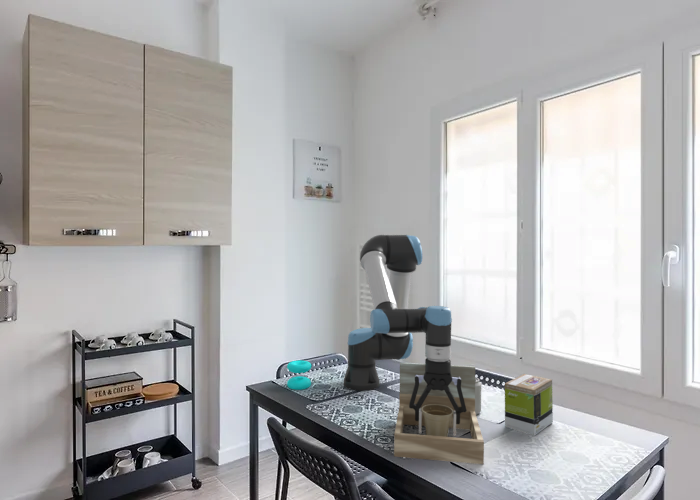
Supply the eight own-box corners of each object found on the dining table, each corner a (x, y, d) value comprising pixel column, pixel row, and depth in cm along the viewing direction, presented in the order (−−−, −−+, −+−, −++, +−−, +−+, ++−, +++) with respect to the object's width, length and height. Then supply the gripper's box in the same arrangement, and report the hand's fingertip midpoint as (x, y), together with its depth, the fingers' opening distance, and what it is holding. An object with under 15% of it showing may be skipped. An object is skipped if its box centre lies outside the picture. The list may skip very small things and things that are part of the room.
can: (477, 417, 151) (477, 382, 151) (456, 413, 155) (456, 379, 155) (483, 410, 157) (483, 377, 157) (462, 406, 161) (463, 374, 161)
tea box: (523, 415, 154) (524, 372, 154) (553, 423, 147) (554, 379, 147) (503, 427, 143) (504, 381, 143) (534, 437, 136) (535, 389, 136)
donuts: (308, 366, 176) (284, 365, 178) (308, 391, 177) (283, 390, 178) (313, 360, 186) (290, 359, 188) (313, 383, 186) (290, 382, 188)
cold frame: (399, 422, 146) (400, 362, 146) (474, 428, 142) (474, 366, 142) (394, 456, 123) (394, 384, 122) (483, 464, 119) (484, 390, 118)
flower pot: (451, 432, 137) (451, 404, 137) (455, 446, 127) (455, 416, 127) (420, 430, 138) (420, 403, 137) (422, 444, 128) (422, 414, 128)
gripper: (400, 359, 130) (399, 435, 131) (477, 363, 127) (476, 441, 127) (401, 353, 138) (400, 424, 138) (474, 357, 134) (473, 430, 134)
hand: (437, 432), depth 132 cm, fingers open, 9 cm apart
